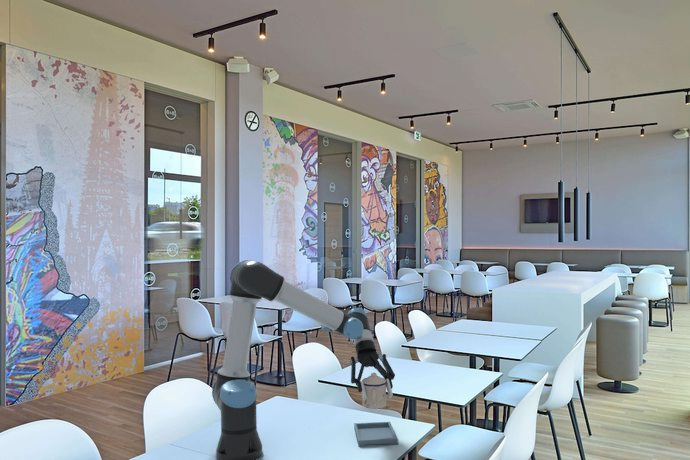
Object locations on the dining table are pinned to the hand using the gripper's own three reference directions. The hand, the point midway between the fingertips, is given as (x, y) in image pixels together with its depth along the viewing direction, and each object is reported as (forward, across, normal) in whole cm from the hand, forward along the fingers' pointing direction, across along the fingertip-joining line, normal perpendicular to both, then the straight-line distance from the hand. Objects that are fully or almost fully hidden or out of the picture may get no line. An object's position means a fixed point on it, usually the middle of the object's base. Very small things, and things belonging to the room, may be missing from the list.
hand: (378, 398), depth 183 cm
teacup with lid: (+1, 0, -5) cm, 5 cm away
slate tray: (+8, 0, -12) cm, 15 cm away
